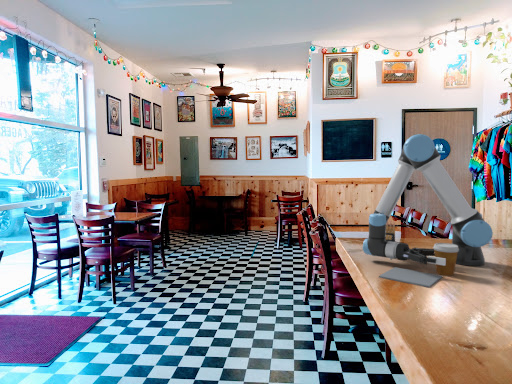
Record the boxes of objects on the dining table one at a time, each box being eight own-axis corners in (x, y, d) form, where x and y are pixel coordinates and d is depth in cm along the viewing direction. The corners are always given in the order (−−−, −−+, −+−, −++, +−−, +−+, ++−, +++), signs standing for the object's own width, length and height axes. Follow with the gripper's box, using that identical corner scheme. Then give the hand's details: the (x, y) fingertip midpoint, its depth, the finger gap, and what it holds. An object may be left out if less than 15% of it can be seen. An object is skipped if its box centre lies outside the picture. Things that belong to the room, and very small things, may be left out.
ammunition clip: (395, 241, 218) (395, 221, 218) (394, 242, 217) (395, 221, 216) (376, 239, 223) (376, 220, 223) (375, 240, 222) (376, 220, 221)
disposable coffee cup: (454, 271, 156) (456, 243, 155) (460, 278, 147) (462, 248, 146) (430, 269, 159) (431, 242, 158) (434, 276, 150) (435, 246, 149)
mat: (394, 268, 161) (394, 267, 161) (442, 277, 148) (442, 275, 148) (378, 277, 148) (378, 275, 148) (429, 287, 135) (429, 285, 135)
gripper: (407, 254, 175) (457, 262, 161) (386, 264, 156) (441, 274, 142) (407, 238, 174) (457, 245, 160) (387, 247, 156) (441, 255, 142)
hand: (450, 258), depth 151 cm, fingers open, 13 cm apart
